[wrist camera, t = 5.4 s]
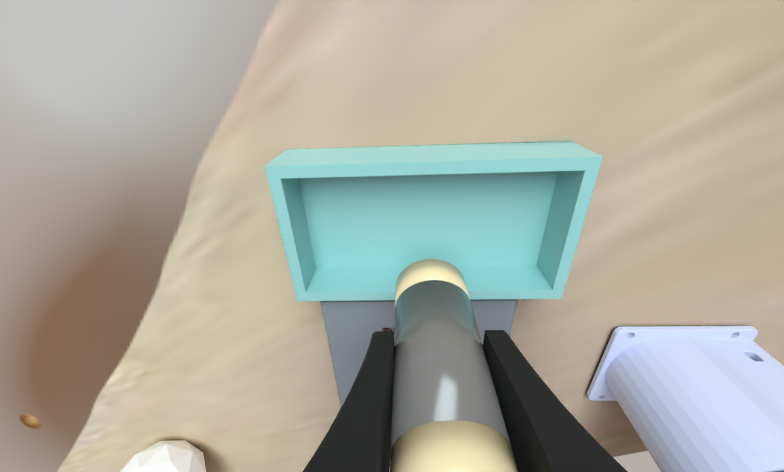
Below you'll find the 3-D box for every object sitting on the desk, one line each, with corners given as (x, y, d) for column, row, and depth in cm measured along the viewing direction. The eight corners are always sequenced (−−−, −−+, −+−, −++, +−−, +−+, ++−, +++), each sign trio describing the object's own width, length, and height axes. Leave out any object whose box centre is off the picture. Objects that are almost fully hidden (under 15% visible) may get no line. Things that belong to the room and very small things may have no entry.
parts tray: (570, 140, 16) (602, 156, 14) (540, 267, 20) (561, 298, 18) (286, 149, 17) (264, 166, 14) (310, 270, 21) (297, 301, 18)
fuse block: (507, 280, 21) (516, 300, 19) (480, 433, 30) (484, 456, 28) (327, 282, 21) (320, 302, 20) (353, 432, 30) (350, 455, 28)
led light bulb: (467, 258, 13) (545, 495, 6) (462, 313, 14) (519, 554, 7) (393, 259, 13) (384, 493, 6) (396, 314, 14) (391, 552, 8)
